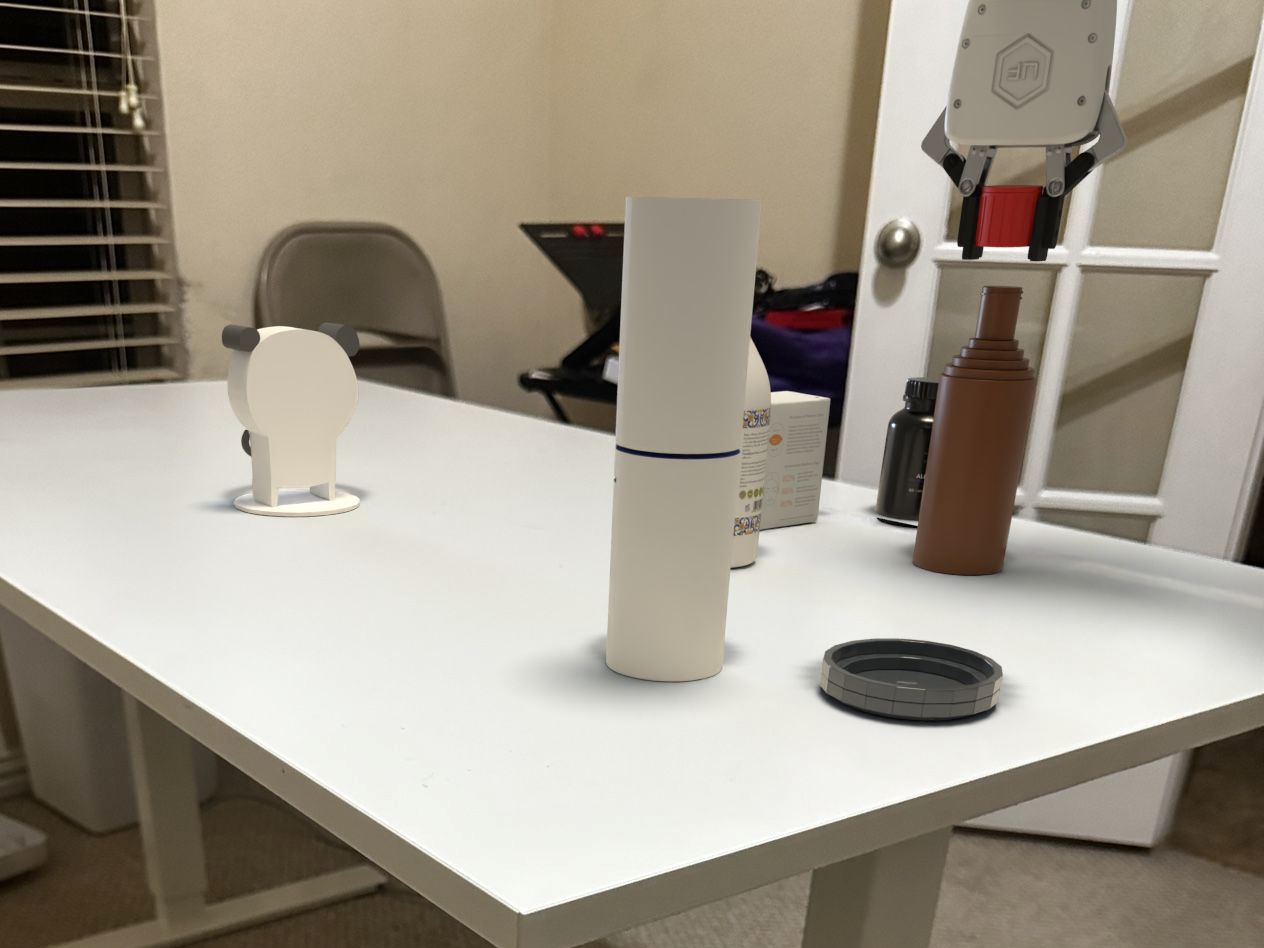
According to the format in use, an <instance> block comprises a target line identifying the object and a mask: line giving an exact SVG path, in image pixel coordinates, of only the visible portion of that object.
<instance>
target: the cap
mask: <svg viewBox="0 0 1264 948" xmlns="http://www.w3.org/2000/svg"><path fill="white" fill-rule="evenodd" d="M1043 188H1044V185H1038V184H1002V185H1001V184H1000V185H999V184H998V185H996V184H995V185H986V186H983V188H982V191H983V192H982V195H981V199H980V207H979V214H978V222H977V230H976V238H975V242H976V243H975V245H976V246H981V247H984V248H1029V244H1030V238H1031V231H1032V225H1033V219H1034V213H1035V206H1036V201H1037V199H1039V197H1042V195H1043Z"/></svg>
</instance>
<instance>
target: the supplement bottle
mask: <svg viewBox="0 0 1264 948" xmlns="http://www.w3.org/2000/svg"><path fill="white" fill-rule="evenodd" d="M939 378H940V377H926V376H925V377H924V376H923V377H922V376H921V377H920V376H919V377H918V376H917V377H916V376H915V377H914V376H913V377H907V378H906V382H905V388H904V394H903V395H902V401H903V402H905V403H904V407H903V408H902V409H900V410H898V411H896V412H895V413H894V414H893V415H892V416H891V418H890V419H889V420H888V423H887V429H886V434H885V435H886V436H885V443H884V449H883V456H882V462H881V470H880V474H879V475H880V476H879V483H878V489H877V496H876V504H875V511H874V512H875V513H876V514H877V515H879V516H882V517H885V518H882V517H878V516H877V517H875V518H876V520H877V521H878V522H880V523H882V524H885V525H888V526H893V527H898V528H905V529H914V530H915V529H916V530H917V527H918V525H916V524H911V523H906V522H901V521H912V522H918V520H919V514H920V507H921V500H922V493H923V486H924V480H925V473H926V466H927V459H928V453H929V446H930V439H931V432H932V426H933V419H934V412H935V405H936V398H937V392H938V385H939ZM887 518H889V519H887ZM892 519H894V520H892ZM896 520H901V521H896Z"/></svg>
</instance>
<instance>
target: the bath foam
mask: <svg viewBox="0 0 1264 948" xmlns="http://www.w3.org/2000/svg"><path fill="white" fill-rule="evenodd" d="M771 391H772V390H771V384H770V379H769V375H768V372H767V369H766V366H765V364H764V362H763V359H762V357H761V355H760V354H759V351H758V348H757V347H756V344H755V342H754V341H753V339H752V336H750V345H749V357H748V369H747V381H746V393H745V405H744V417H743V429H742V441H741V447H740V448H739V450H740V464H739V476H738V487H737V499H736V510H735V522H734V534H733V545H732V557H731V568H730V569H734V568H740V567H741V568H742V567H746V566H748V565H750V564H752V563H754V561H756V559H757V557H758V550H759V540H760V539H759V538H760V531H761V530H760V522H761V511H762V500H763V489H764V478H765V467H766V457H767V446H768V435H769V424H770V413H771Z"/></svg>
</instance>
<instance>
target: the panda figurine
mask: <svg viewBox="0 0 1264 948" xmlns="http://www.w3.org/2000/svg"><path fill="white" fill-rule="evenodd" d="M221 344H222V346H223V347H224V348H226V349H230V350H232V353H231V357H230V360H229V361H230V362H229V366H228V371H227V395H228V400H229V404H230V406H231V408H232V411H233V414H234V416H235V417H236V419H237V420H238V421H239V423H240V424H241V425H242V426H243V427H244V428H245V429H244V431H243V432H242V434H241V437H240V438H241V439H240V442H241V447H242V450H243V451H244V452H245V454H246V455H248V456H249V457H250V458H251V473H252V479H251V480H252V482H251V485H252V487H251V488H252V492H250V493H246V494H243V495H240V496H238V497H236V498H235V499H234V500H233V502H234V503H233V504H234V507H235V508H236V509H237V510H239V511H242V512H245V513H249V514H254V515H262V516H269V517H270V516H272V517H316V516H317V517H319V516H327V515H328V516H329V515H335V514H341V513H346V512H349V511H353V510H355V509H357V508H359V507H360V505H361V500H360V498H359V497H358V496H356V495H354V494H350V493H348V492H343V491H337V490H336V480H337V479H336V478H337V475H336V474H337V473H336V472H337V445H338V444H337V441H338V437H339V436H340V435H341V434H342V433H343V432H344V431H345V429H346V428H347V427H348V426H349V424H350V423H351V421H352V419H353V417H354V414H355V412H356V410H357V406H358V402H359V397H360V395H359V393H360V392H359V383H358V378H357V375H356V371H355V369H354V366H353V364H352V362H351V360H350V358H349V357H354V356H356V355H357V353H358V352H359V349H360V339H359V336H358V333H357V331H356V330H355V329H354V328H353V327H352V326H349V325H348V324H340V323H335V322H334V323H333V322H328V321H327V322H323V323H321V324H320V326H319V327H318V329H317V331H316V330H311V329H306V328H297V327H293V326H283V325H278V326H267V327H262V328H261V327H260V328H257V329H256V328H255V327H251V326H244V325H238V324H227V325H225V326H224V327H223V329H222V332H221ZM279 488H282V489H279Z"/></svg>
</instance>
